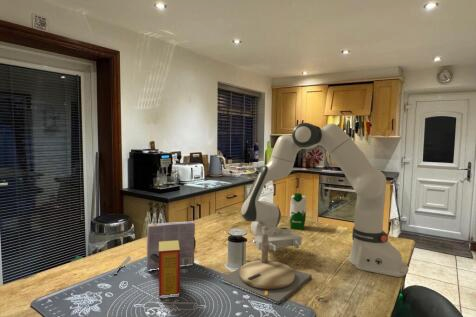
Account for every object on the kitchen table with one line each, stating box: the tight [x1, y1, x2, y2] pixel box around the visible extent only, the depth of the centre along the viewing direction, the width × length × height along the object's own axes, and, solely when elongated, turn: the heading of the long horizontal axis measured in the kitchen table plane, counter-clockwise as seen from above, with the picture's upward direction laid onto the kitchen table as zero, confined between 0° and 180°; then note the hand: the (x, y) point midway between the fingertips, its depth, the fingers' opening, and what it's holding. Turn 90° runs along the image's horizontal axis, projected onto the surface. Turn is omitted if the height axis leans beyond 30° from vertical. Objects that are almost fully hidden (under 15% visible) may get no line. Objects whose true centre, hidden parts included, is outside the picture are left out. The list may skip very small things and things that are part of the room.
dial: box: [240, 226, 295, 289], centre depth 113 cm, size 20×20×16 cm
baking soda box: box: [158, 240, 181, 296], centre depth 104 cm, size 10×6×16 cm
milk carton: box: [289, 192, 307, 231], centre depth 177 cm, size 9×9×20 cm
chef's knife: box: [118, 255, 132, 268], centre depth 125 cm, size 19×1×3 cm
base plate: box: [220, 257, 312, 303], centre depth 114 cm, size 24×24×1 cm
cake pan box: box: [146, 220, 197, 271], centre depth 123 cm, size 19×5×18 cm, turn 111°
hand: (287, 247), depth 124 cm, fingers open, 8 cm apart
